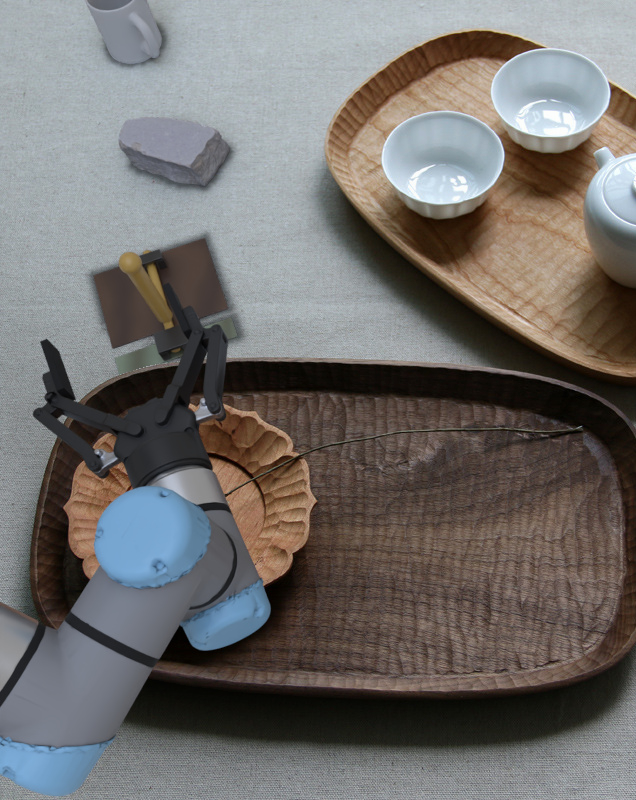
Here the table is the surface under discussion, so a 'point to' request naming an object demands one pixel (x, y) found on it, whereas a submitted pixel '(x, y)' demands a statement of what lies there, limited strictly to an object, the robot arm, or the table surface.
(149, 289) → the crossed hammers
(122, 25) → the mug
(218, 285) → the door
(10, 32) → the table surface
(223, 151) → the decorative stone
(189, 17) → the table surface
